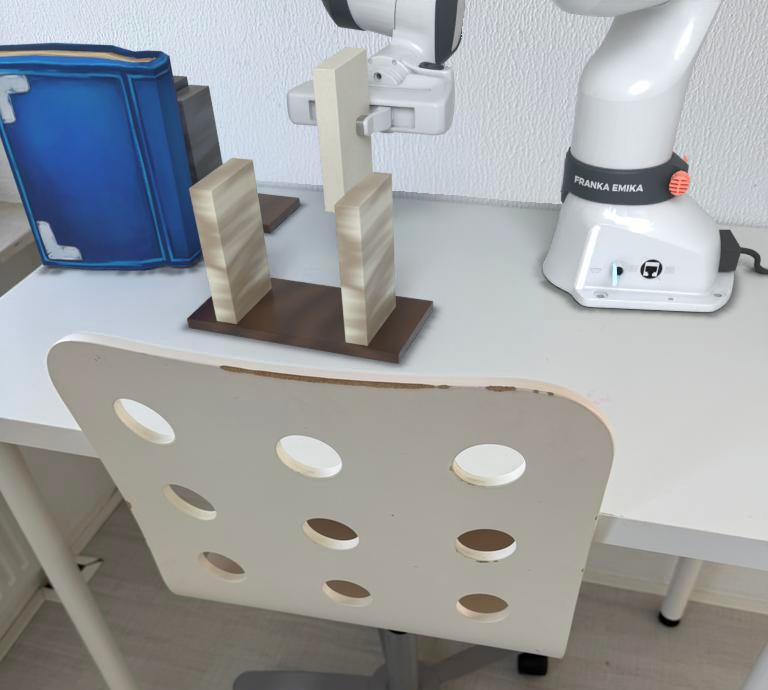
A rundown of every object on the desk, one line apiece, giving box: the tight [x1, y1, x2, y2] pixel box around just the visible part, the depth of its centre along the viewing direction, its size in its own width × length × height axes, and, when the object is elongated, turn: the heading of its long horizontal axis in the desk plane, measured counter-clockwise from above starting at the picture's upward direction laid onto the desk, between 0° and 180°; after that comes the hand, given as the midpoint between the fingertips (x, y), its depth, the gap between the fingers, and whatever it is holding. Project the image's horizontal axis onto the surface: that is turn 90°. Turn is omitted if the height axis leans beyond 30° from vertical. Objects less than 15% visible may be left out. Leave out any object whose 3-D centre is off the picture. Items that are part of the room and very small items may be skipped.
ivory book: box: [311, 46, 374, 214], centre depth 87 cm, size 3×9×15 cm, turn 159°
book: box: [0, 42, 203, 271], centre depth 94 cm, size 22×7×25 cm, turn 84°
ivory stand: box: [186, 157, 434, 365], centre depth 84 cm, size 26×12×16 cm, turn 69°
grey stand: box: [173, 75, 301, 234], centre depth 107 cm, size 17×10×17 cm, turn 69°
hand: (345, 127), depth 87 cm, fingers closed on ivory book, 2 cm apart
